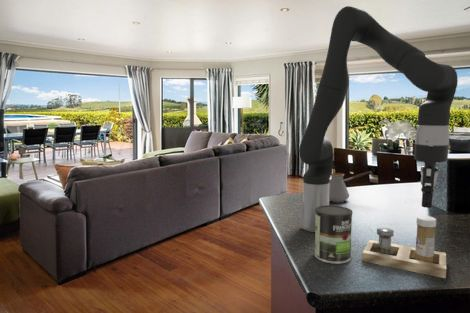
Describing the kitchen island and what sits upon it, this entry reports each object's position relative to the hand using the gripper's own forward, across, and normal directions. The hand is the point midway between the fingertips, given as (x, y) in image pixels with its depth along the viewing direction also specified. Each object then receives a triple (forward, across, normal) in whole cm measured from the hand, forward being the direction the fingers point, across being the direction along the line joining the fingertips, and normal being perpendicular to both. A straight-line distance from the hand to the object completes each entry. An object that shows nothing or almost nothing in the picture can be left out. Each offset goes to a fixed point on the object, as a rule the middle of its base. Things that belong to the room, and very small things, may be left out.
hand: (427, 203), depth 88 cm
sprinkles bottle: (+18, 0, 0) cm, 18 cm away
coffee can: (+18, +7, -23) cm, 30 cm away
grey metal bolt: (+18, 0, -10) cm, 20 cm away
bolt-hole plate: (+18, 0, -5) cm, 18 cm away
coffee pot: (+18, -58, -34) cm, 69 cm away
